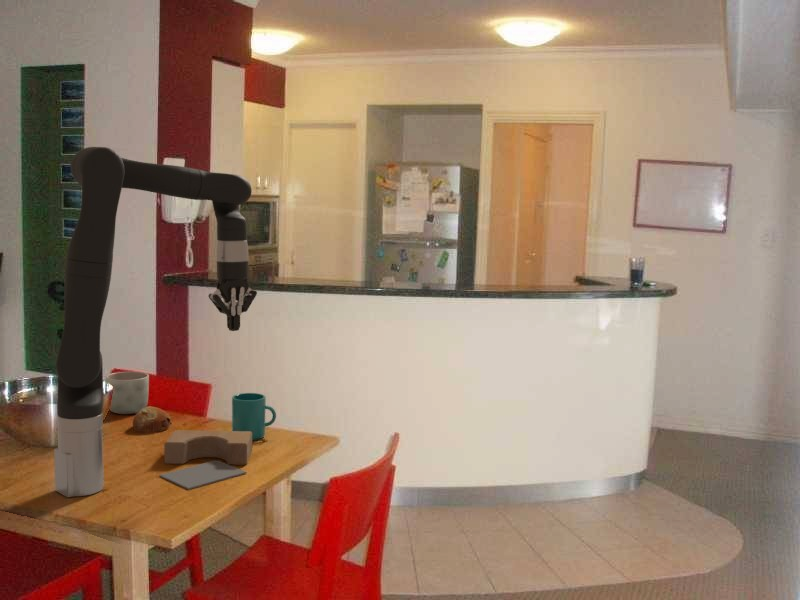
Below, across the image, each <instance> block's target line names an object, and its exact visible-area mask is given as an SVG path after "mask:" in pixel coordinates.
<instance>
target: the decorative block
mask: <svg viewBox="0 0 800 600" xmlns="http://www.w3.org/2000/svg"><path fill="white" fill-rule="evenodd" d="M163 447H164V451H163V452H164V454H163V455H164V458H163V459H164V463H165V465H184V464H185V463H187V462H189V461H191V460H196V459H200V458H214V459H216V458H218V459H221V460H223V461H226V464H228V465H230V466H246V465H247V464H248V462H249V460H250V457H251V454H252V451H253V440H252V432H251V431H232V430H190V429H189V430H187V429H184V430H183V429H179V430H178V429H175V430H174V431H173V432H172V433H171V435H170V436H169V437H168V438H167V440H166V441H165V442H164V446H163Z"/></svg>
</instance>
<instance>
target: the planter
mask: <svg viewBox="0 0 800 600" xmlns="http://www.w3.org/2000/svg"><path fill="white" fill-rule="evenodd" d="M106 381H107V382H109V383H110V384H111V385H112V386H113V394H112V400H111V407H110V409H109V411H111V413H113V414H118V415H132V414H133V415H134V414H137V413H138V412H139V411H140V410H142V409H143V408H146V407H148V403H149V388H150V387H149V386H150V375H149V374H148V373H146V372H141V371H119V372H113V373H110V374H107V375H106V376H105V382H106Z"/></svg>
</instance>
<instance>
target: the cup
mask: <svg viewBox="0 0 800 600" xmlns="http://www.w3.org/2000/svg"><path fill="white" fill-rule="evenodd" d="M266 410H268V411H270V412H271V414H272V416H271V417H272V418H271V419H270V421H268V422H266ZM276 419H277V413H276V410H275V409H274V408H273V407H272V406H270V405H267V404H266V396H265V394H262V393H258V392H256V393H255V392H245V393H244V392H242V393H237V394H234V395H232V397H231V431H251V432H252V441H256V440H260V439H263V438H264V437H265V435H266V427H269V426H272V425H273V424H274V423H275V421H276Z"/></svg>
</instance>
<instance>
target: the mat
mask: <svg viewBox="0 0 800 600" xmlns="http://www.w3.org/2000/svg"><path fill="white" fill-rule="evenodd" d="M246 474H247V471H245V470H242V469H241V468H238V467H235V466H234V465H228V464H227V463H225V462H222V461H220V460H217V459H215V460H212V461H207V462H204V463H200V464H195V465H193V466H188V467H184V468H181V469H177V470H172V471H170V472H165V473H161V474H159V477H160V478H161V479H164V480H167V481H168V482H171V483H173V484H175V485H177V486H180V487H182V488H183V489H185V490H189V491H190V490H192V489H197V488H200V487H204V486H207V485H211V484H215V483H217V482H221V481H225V480H228V479H232V478H236V477H239V476H243V475H246Z"/></svg>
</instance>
